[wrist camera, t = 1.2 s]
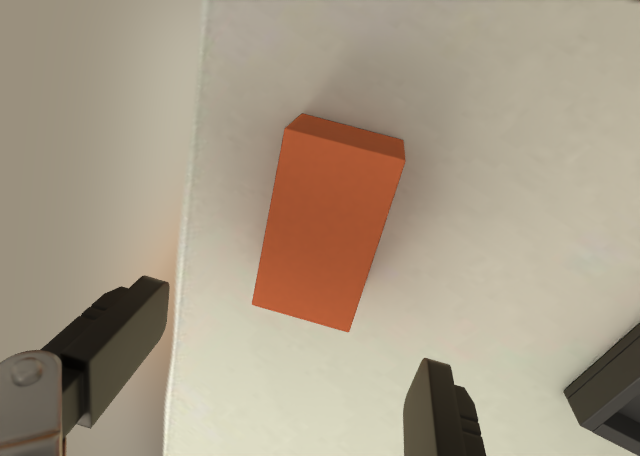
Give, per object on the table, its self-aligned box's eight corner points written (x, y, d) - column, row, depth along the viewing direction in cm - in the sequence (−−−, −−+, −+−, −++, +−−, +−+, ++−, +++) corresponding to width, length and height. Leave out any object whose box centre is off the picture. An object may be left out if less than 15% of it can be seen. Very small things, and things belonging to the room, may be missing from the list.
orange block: (301, 112, 20) (284, 127, 17) (403, 139, 20) (406, 160, 16) (269, 269, 24) (251, 305, 21) (354, 293, 24) (348, 333, 20)
